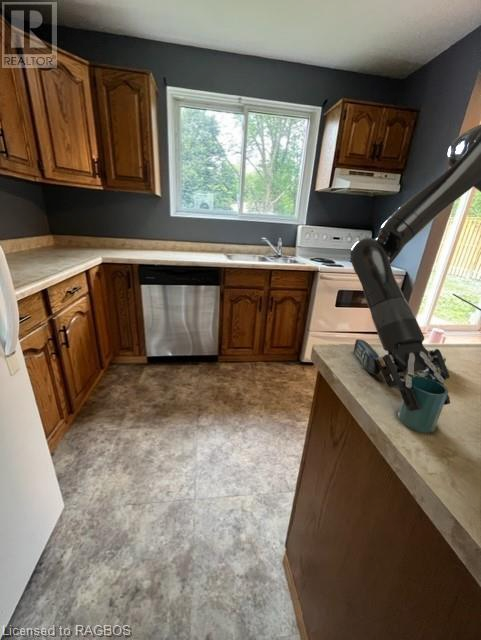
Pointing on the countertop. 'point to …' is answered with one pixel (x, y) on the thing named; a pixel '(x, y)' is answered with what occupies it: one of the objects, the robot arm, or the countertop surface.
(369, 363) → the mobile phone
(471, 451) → the countertop surface
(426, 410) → the teal cup
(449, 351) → the countertop surface
